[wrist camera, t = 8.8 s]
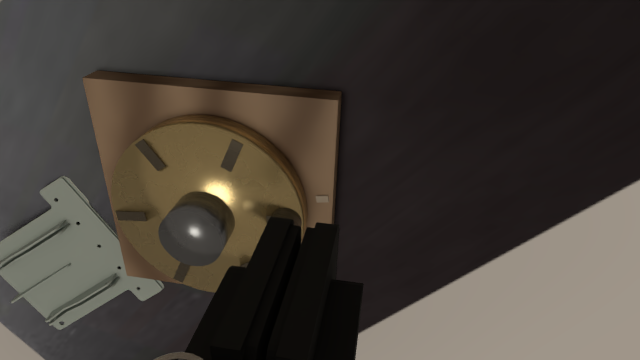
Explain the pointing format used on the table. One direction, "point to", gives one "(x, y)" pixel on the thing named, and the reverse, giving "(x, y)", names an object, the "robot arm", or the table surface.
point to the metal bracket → (68, 259)
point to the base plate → (229, 103)
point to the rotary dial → (202, 196)
